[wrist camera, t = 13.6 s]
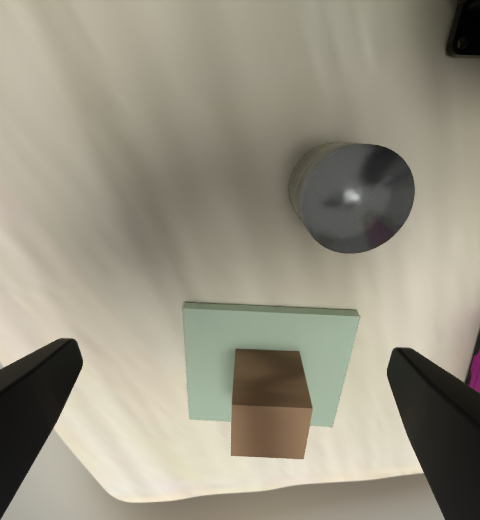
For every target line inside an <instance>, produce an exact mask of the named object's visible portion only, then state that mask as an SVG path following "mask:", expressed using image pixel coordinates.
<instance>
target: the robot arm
mask: <svg viewBox="0 0 480 520" xmlns="http://www.w3.org/2000/svg"><path fill="white" fill-rule="evenodd" d="M458 3H459V4H458V8H457V12H456V15H455V19H454V23H453V26H452V30H451V34H450V37H449V41H448V45H447V52H448V54H449V55H450V56H452V57H467V58H480V0H458ZM459 39H461V40H462V42H463V45H462V47H461V49H460V48H458V46H457V45H458V41H459ZM82 366H83V359H82V356H81V352H80V349H79V346H78V343H77V341H76V340H75V339H72V338H60V339H57V340H55V341H54V342H52V343H50V344H48V345H46V346H44V347H42V348H40V349H38V350H36V351H35V352H33V353H31V354H29V355H27V356H25V357H23V358H21V359H19V360H17V361H16V362H14V363H12V364H10V365H8V366H6V367H4V368H2V369H0V519H1V518H2V516H3V514H4V513H5V511H6V509H7V508H8V506H9V504H10V502H11V501H12V499H13V497H14V495H15V494H16V492H17V490H18V488H19V487H20V485H21V483H22V482H23V480H24V478H25V476H26V475H27V473H28V471H29V469H30V468H31V466H32V464H33V462H34V461H35V459H36V457H37V456H38V454H39V452H40V450H41V449H42V447H43V445H44V443H45V441H46V440H47V438H48V436H49V435H50V433H51V431H52V429H53V428H54V426H55V424H56V422H57V420H58V418H59V416H60V414H61V412H62V410H63V408H64V406H65V404H66V401H67V399H68V397H69V395H70V393H71V391H72V388H73V386H74V384H75V382H76V380H77V378H78V375H79V373H80V371H81V369H82ZM387 377H388V381H389V384H390V386H391V389H392V392H393V395H394V398H395V401H396V404H397V407H398V410H399V413H400V416H401V419H402V422H403V425H404V428H405V430H406V433H407V436H408V438H409V440H410V443H411V445H412V447H413V450H414V452H415V454H416V456H417V458H418V461H419V463H420V465H421V467H422V470H423V472H424V474H425V476H426V478H427V481H428V483H429V485H430V487H431V489H432V492H433V494H434V496H435V498H436V501H437V503H438V505H439V507H440V509H441V512H442V513H443V516H444V518H445V520H480V393H479V392H478V391H476V390H475V389H473V388H471V387H470V386H468V385H467V384H465V383H464V382H462V381H461V380H459V379H458V378H456V377H455V376H453V375H452V374H450V373H449V372H447V371H445V370H444V369H442V368H441V367H439V366H438V365H436V364H435V363H433V362H432V361H430V360H429V359H427V358H426V357H424V356H423V355H421V354H419V353H418V352H416V351H415V350H413V349H411V348H404V347H396V348H394V349H393V351H392V354H391V357H390V361H389V364H388V368H387Z"/></svg>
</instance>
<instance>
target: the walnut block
mask: <svg viewBox="0 0 480 520" xmlns="http://www.w3.org/2000/svg"><path fill="white" fill-rule="evenodd" d="M312 411H313V407H312V403H311V398H310V394H309V390H308V385H307V381H306V377H305V373H304V368H303V364H302V360H301V356H300V351H284V350H259V349H235V363H234V378H233V392H232V415H231V456H247V457H268V458H288V459H304V454H305V449H306V443H307V438H308V432H309V427H310V422H311V416H312Z"/></svg>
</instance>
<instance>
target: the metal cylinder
mask: <svg viewBox="0 0 480 520" xmlns="http://www.w3.org/2000/svg"><path fill="white" fill-rule="evenodd" d="M414 193H415V187H414V180H413V176H412V173H411V170H410V168H409V167H408V165H407V163H406V162H405V161H404V160H403V158H401V157H400V156H399V155H398V154H397V153H395V152H394V151H392V150H390V149H388V148H386V147H383V146H379V145H371V144H349V143H329V144H324V145H321V146H318V147H316V148H314V149H312V150H311V151H309V152H308V153H306V154H305V155H304V156H303V157H302V158H301V159H300V160H299V162H298V163H297V164H296V166H295V168H294V170H293V172H292V174H291V178H290V182H289V196H290V200H291V203H292V205H293V207H294V209H295V211H296V212H297V214H298V215H299V217H300V218H301V220H302V221H303V223H304V225H305V226H306V228H307V229H308V231H309V232H310V234H311V235H312V236H313V238H314V239H315V240H316V241H317V242H318V243H320V244H321V245H322V246H324V247H326V248H328V249H330V250H332V251H335V252H340V253H360V252H364V251H368V250H371V249H373V248H376V247H378V246H380V245H381V244H383V243H385V242H386V241H388V240H389V239H390V238H391V237H393V236H394V235H395V234H396V233H397V232H398V230H399V229H400V228H401V227H402V226H403V224H404V223H405V221H406V219H407V217H408V215H409V213H410V211H411V208H412V205H413V201H414Z"/></svg>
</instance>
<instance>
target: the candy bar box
mask: <svg viewBox="0 0 480 520" xmlns="http://www.w3.org/2000/svg"><path fill="white" fill-rule="evenodd" d="M467 385H468V386H470V387H471V388H473V389H475V390H476V391H478V392H479V393H480V334H479V338H478V343H477V346H476V350H475V354H474V358H473V361H472V365H471V369H470V373H469V377H468V381H467Z"/></svg>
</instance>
